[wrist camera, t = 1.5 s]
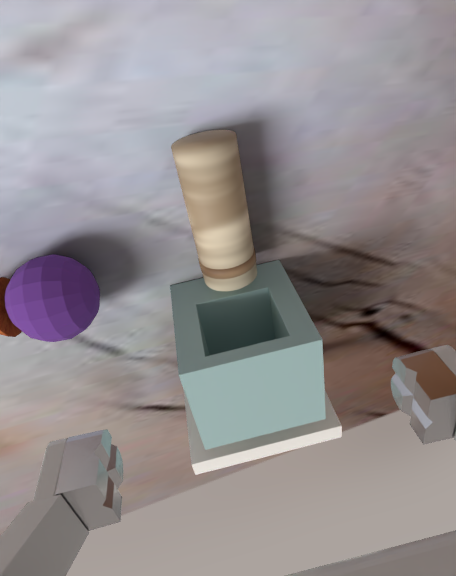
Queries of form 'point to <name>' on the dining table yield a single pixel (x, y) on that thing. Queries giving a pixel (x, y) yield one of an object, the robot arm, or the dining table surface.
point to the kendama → (48, 299)
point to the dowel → (217, 207)
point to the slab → (259, 442)
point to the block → (248, 357)
